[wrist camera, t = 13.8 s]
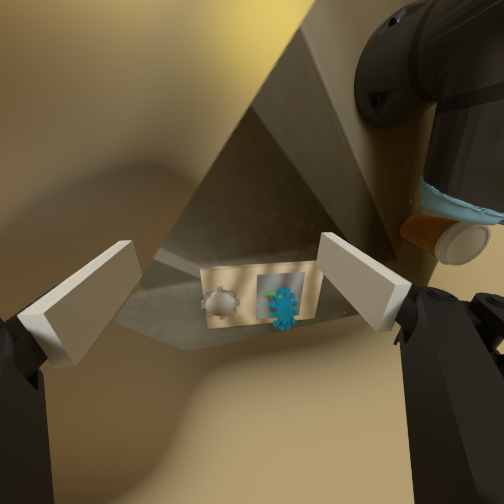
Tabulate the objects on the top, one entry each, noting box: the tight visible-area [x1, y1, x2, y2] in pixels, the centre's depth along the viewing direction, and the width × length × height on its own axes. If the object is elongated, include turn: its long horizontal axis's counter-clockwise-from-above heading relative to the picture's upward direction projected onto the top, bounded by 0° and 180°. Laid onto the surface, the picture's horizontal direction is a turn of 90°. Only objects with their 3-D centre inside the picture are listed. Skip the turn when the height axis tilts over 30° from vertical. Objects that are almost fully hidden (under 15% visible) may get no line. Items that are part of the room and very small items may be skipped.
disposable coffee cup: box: [400, 215, 491, 265], centre depth 41 cm, size 10×10×12 cm
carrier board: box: [200, 261, 323, 329], centre depth 47 cm, size 31×18×3 cm, turn 89°
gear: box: [262, 288, 298, 331], centre depth 46 cm, size 11×6×10 cm
